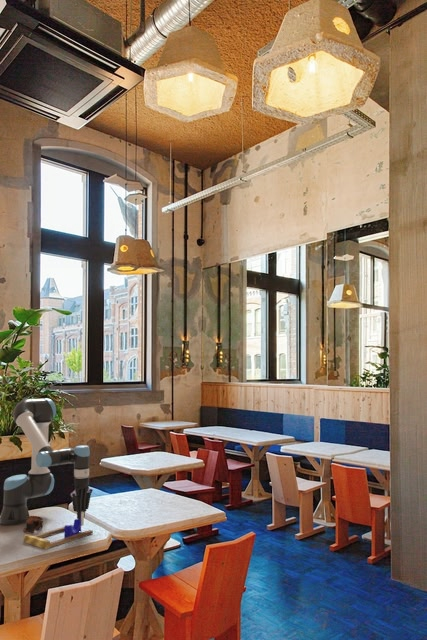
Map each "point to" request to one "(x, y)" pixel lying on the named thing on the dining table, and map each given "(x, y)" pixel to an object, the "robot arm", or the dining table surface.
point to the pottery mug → (33, 524)
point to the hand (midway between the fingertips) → (80, 525)
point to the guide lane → (47, 544)
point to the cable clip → (72, 528)
